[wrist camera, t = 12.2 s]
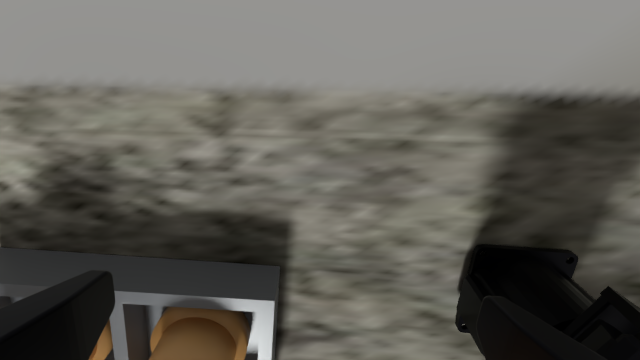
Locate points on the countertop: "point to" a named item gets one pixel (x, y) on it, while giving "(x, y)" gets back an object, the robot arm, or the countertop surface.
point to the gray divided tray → (164, 302)
